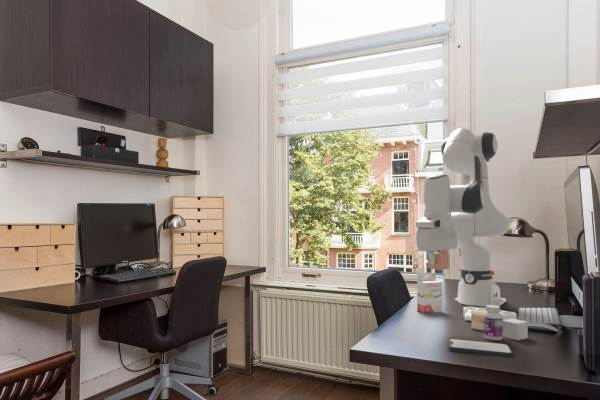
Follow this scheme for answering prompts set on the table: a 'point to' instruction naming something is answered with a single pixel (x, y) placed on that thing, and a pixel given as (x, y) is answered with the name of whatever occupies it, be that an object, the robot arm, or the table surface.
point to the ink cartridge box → (429, 293)
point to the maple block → (477, 320)
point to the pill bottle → (493, 323)
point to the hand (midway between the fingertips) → (438, 263)
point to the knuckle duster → (469, 310)
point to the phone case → (479, 347)
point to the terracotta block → (440, 261)
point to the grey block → (515, 329)
